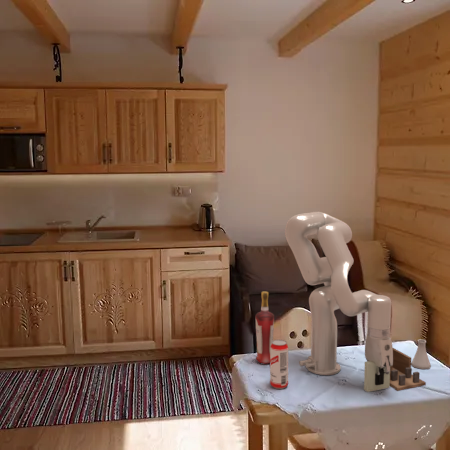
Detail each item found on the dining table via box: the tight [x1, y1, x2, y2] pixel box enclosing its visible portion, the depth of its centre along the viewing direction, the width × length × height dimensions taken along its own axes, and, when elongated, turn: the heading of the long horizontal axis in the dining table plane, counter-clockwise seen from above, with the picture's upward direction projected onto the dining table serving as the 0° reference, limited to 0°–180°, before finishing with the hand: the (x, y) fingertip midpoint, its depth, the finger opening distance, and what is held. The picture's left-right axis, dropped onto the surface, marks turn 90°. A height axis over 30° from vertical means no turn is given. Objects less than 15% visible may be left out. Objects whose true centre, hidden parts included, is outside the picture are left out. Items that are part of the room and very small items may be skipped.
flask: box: [411, 338, 432, 370], centre depth 194 cm, size 7×7×10 cm
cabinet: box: [389, 347, 427, 392], centre depth 184 cm, size 12×18×8 cm, turn 20°
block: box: [363, 360, 391, 393], centre depth 175 cm, size 9×3×10 cm, turn 110°
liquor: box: [254, 291, 275, 365], centre depth 198 cm, size 7×7×28 cm
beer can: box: [269, 339, 289, 390], centre depth 178 cm, size 6×6×16 cm
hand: (377, 382), depth 176 cm, fingers closed on block
